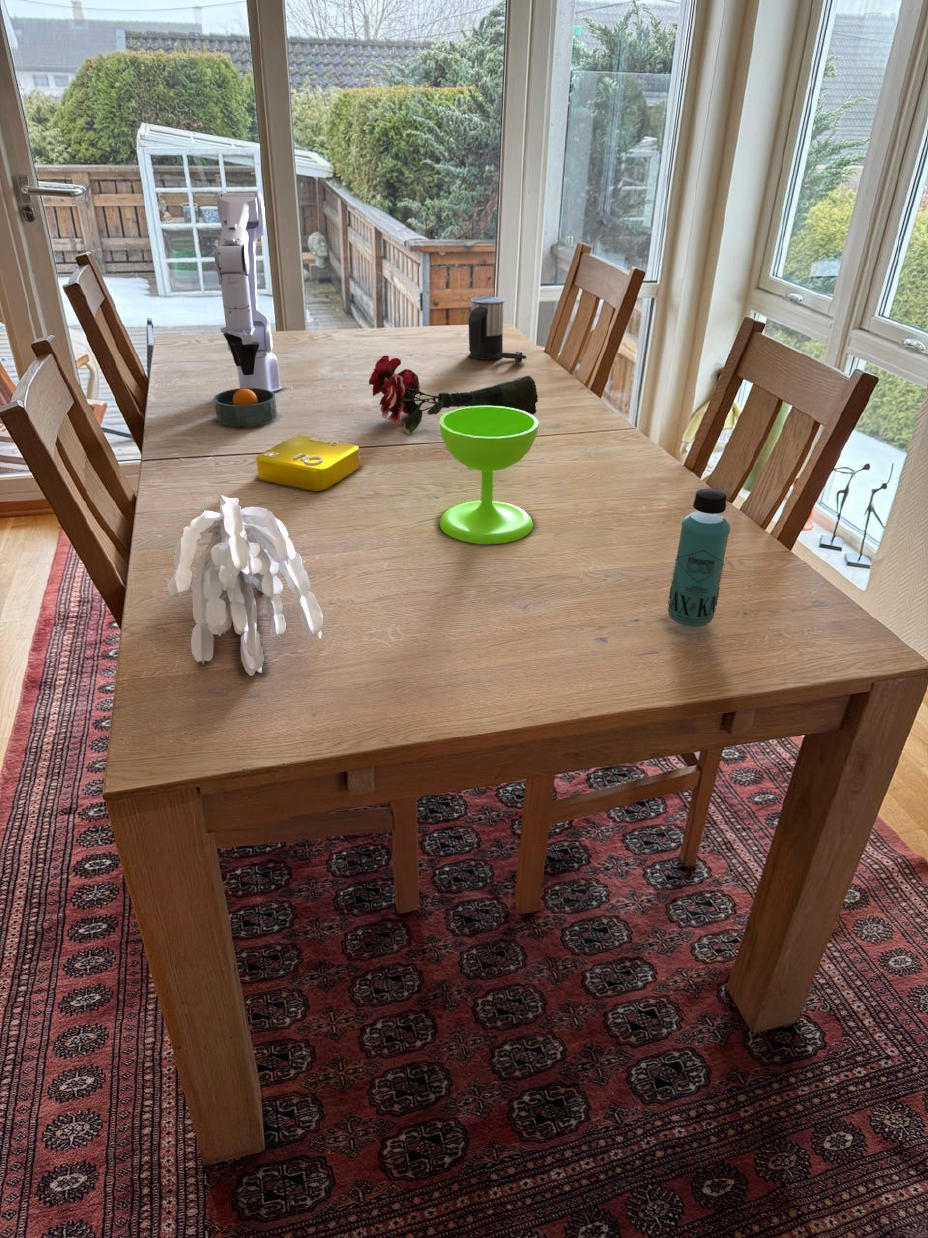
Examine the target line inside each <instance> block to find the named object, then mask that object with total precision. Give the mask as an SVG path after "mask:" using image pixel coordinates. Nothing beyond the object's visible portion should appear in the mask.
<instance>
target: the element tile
mask: <svg viewBox="0 0 928 1238" xmlns="http://www.w3.org/2000/svg"><path fill="white" fill-rule="evenodd" d="M359 450H360V449H359V446H358V445H357V444H353V443H348V442H342V441H337V440H333V439H326V438H320V437H315V436H309V435H304V434H296V435H294V436H291V437H289V438H287V439H285V440H284V441H282V442H280V443H278V444H276V445H275V446H273V447H271V448H268V449H267V450H265V451H263V452H262V453H260V454H258V455H256V457H255V461H256V470H257V477H258V479H259V480H261V481H263V482H268V483H272V484H276V485H277V484H278V485H282V486H286V487H287V486H288V487H292V488H297V489H302V490H307V491H312V492H323V491H326V490H328V489H329V488H331V487H333V486H334V485H336V484H337V483H339V482H340V481H342V480H343V479H345V478H346V477H348V476H350V475H351V474H352V473H354V472H356V471H357V470H358V469H359V468H360V451H359Z"/></svg>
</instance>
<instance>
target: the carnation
mask: <svg viewBox="0 0 928 1238" xmlns="http://www.w3.org/2000/svg"><path fill="white" fill-rule="evenodd" d="M401 364H402V360H401V359H400V358H398V357H393V358H391V359H390V356H389V355H387V354H386V355H382V356H381V357H380V358H379V359H378V360H377V361H376V363H375V365H374V368H373V371H372V373H371V375H370V377H369V379H368V385H369V386H370V385H372V396H373V397H375V396H376V395H379V394H382V395H383V396H382V397H381V399H380V401H379V404H378V405H379V406H380V410H379V411H380V413H381V418H382V419H384V420H387V421H389V423H391V424H396V423H397V424H401V414H402V413H403V414H406V415H407V416H408V417H407V418H406V421H405V423H404V430H405V432H406V433H407V434H409V435H412V434H413V432H414V431H415V430H417V428H418V427H419V425H420V423H421V421H422V419H423V412H425V411H427V412H426V414H427V415H430V416H431V415H432V416H433V415H437V414H439V413H441V411H442V409H449V408H450V407H451V408H464V407H471V406H502V407H509V408H515V409H518V410H522V411H525V412H527V413H530V414H532V415H533V416H534V415H535V414H536V413H537V406H536V403H538V402H539V398H538V391H537V384H536V381H535V379H534V378H533V377H532V376H531V375H526V376H525V375H524V376H521V377H516V378H515V379H511V380H508V381H505V382H500V383H497V384H495V385H490V386H485V387H482V388H479V389H475V390H470V391H461V392H459V391H458V392H451V393H449V392H439V393H438V395H432V394H428V393H425V392H422V391H421V389H420V388H421V387H420V379H419V376H418V375H417V374H416V373H415V372H414V371H412V370H411V369H408V368H404V369H403V370H401V371H400V372H398V373H395V372H396V370H397V368H398V367H399V366H401ZM421 396H426V397H430V398H421ZM430 400H431V401H430ZM436 400H437V401H436ZM417 402H419V403H417ZM425 403H429V404H433V405H432V406H430V407H428V408H424V409H421V407H422V405H423V404H425ZM389 413H390V415H389ZM388 415H389V416H388Z"/></svg>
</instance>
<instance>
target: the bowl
mask: <svg viewBox="0 0 928 1238" xmlns="http://www.w3.org/2000/svg"><path fill="white" fill-rule="evenodd" d="M240 389H243V388H240V387H239V388H233V389H228V390H224V391H220V392H219V393H217V394H215V395H214V397H213V398H212V399H213V406H214V413H215V415H214V416H215V419H216V421H217V422H219V423H220V424H223V425H226V426H230V427H235V428H250V427H257V426H261V425H264V424H267V423H269V422H271V421H273V420H274V419H276V418H277V416H278V410H277V402H276V401H277V400H276V399H277V398H276V394H275V392H271V391H269V390H265V389H260V388H245V389H249V390H251V391H253V392H254V393H255V395H256V396H257V399H258V404H254V405H240V406H235V405H233V396H234V394H235V393H236V392H237V391H238V390H240Z"/></svg>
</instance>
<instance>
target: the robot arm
mask: <svg viewBox="0 0 928 1238" xmlns="http://www.w3.org/2000/svg"><path fill="white" fill-rule="evenodd" d="M264 205H265V204H264V197H263V195H262V194H261V193H260V191H257V192H222V191H219V192H218V194H217V196H216V207H217V209H216V210H217V215H218V218H219V221H220V225H221V232H220V239H219V245H218V248H215V249H214V254H213V255H214V256H213V257H214V266H215V269H216V274H217V277H218V284H219V285H220V291H221V297H222V306H223V315H224V322H225V326H223V327H220V332H221V333H222V335H223V337H224V338H225V340H226V344H227V349H228V351H229V352H230V353H231V355H232V358H233V362H234V365H235V366H236V367H237V370H236V371H237V378H238V387H239V388H260V389H265V390H269V391H271V392H273V393H276V392H278V391H280V390H283V389H284V387H283V386H282V385H281V381H280V369H279V361H278V359H277V356H276V355H275V354H274V353H273V352H272V351H273V334H272V333H273V332H272V327H271V321H270V319H269V318H268V317H267V315H265V314H264V313H262V312H261V311H260V310H259V304H258V302H259V301H258V281H257V280H258V279H257V258H256V257H257V256H256V249H257V243H258V239H260V238H261V237H262V236H264V235H265V229H266V227H265V226H266V225H265V206H264Z"/></svg>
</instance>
